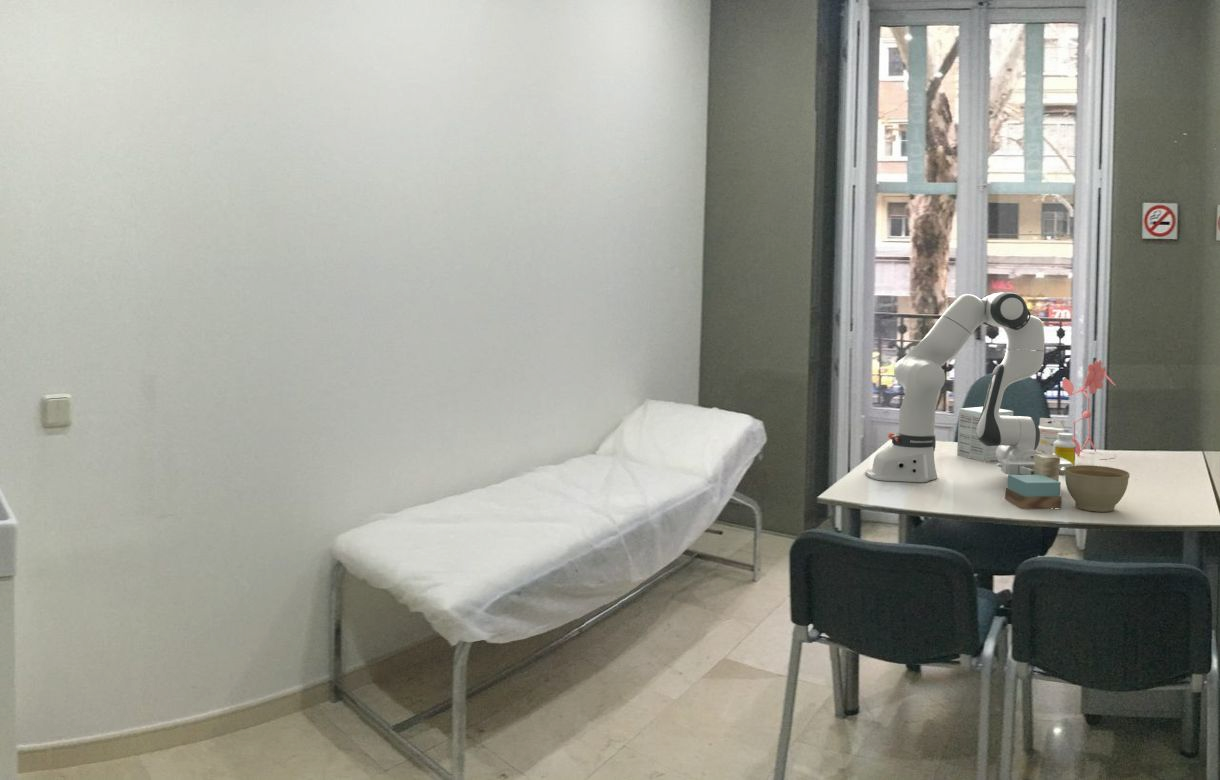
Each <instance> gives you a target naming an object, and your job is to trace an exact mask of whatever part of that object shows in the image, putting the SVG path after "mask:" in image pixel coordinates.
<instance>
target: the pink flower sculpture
mask: <svg viewBox="0 0 1220 780" xmlns="http://www.w3.org/2000/svg"><path fill="white" fill-rule="evenodd" d="M1102 364H1103V363H1102V360H1101V359H1100V360H1099V359H1098V360H1095V361H1094V363H1090V364H1088V366H1087V371H1088V373H1087V374H1086V379H1085V381H1084V384H1083V387H1082V388H1081V389H1079V390H1077V391H1075V392H1074V385H1073V382H1072V381H1071V380H1069V379H1068V378H1066V377H1064V378H1063V380H1062V381H1061V382H1062V383H1061V386H1062V389H1063V390H1064V391H1065V392H1066V393H1067V394H1068V395H1069V396H1073V395H1074V394H1078V393H1080V392H1082V393H1083V394H1084V395H1085V397H1086V398H1087V410H1085V411H1083V413H1082V416H1083V417H1081V418H1079V419H1077V420H1075V421H1074V422H1073V439H1072V441H1073V442H1074V443H1075V444H1076V448H1075V456H1077V457H1080V455H1081V452H1082V451H1083V450H1084V449H1085V447H1086V445H1087V444H1088V442H1089V444H1090V445H1091V447H1092V449H1093V451H1094V452H1095V453H1098V451H1097V450H1096V447H1095V446H1094V444H1093V442H1092V440H1091V417H1092V413H1091V411H1090V397H1089V395H1088V394H1090V395H1091V394H1094V395H1095V394H1097V392H1098V389H1099V390H1101V389H1103V388H1104V383H1103V381H1104V379H1105V378H1106V379H1107V381H1108V382H1110V383H1111V384H1112V385H1113V386H1114V387H1117V385H1116V384H1115V383H1114V382H1113V380H1112V378H1110V377H1109V376H1108V375H1107V374H1106V370H1107V369H1106V366H1103V365H1102ZM1086 388H1088V389H1086ZM1086 392H1089V393H1088V394H1087V393H1086ZM1083 419H1088V436H1086V441H1085V443H1084V444H1083V446H1082V447H1081V445H1080V443H1079V442H1078V440H1077V439H1076V423H1077V422H1079V421H1080V420H1083ZM1096 451H1097V452H1096ZM1113 455H1115V456H1116V454H1115V453H1113ZM1113 459H1114V457H1113V458H1110V460H1113ZM1101 460H1102V461H1103V460H1106V458H1104V459H1101V458H1099V461H1101Z"/></svg>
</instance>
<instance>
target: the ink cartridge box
mask: <svg viewBox="0 0 1220 780" xmlns="http://www.w3.org/2000/svg"><path fill="white" fill-rule="evenodd" d="M1049 422H1054V423H1049ZM1038 427H1039V429H1040V440H1039V444H1038V446H1037V448H1036V451H1039V452H1046V453H1053V445H1054V442H1055V441H1056V440H1058V438H1057V434H1058V433H1065V420H1064V419H1061V418H1059V419H1058V418H1047V417H1040V418H1039V423H1038Z"/></svg>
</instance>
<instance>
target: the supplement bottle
mask: <svg viewBox="0 0 1220 780" xmlns="http://www.w3.org/2000/svg"><path fill="white" fill-rule="evenodd" d="M1057 438H1058V440H1056V441H1055V442H1054V445H1053V453H1054V454H1057V457H1060V458H1063V459H1066V460H1068V461H1070V462H1071V463H1072V464H1073V466H1075V462H1076V453H1075V448H1076V444H1075V443H1074V442H1073V441H1072V439H1074V433H1070V432H1064V433H1058V434H1057Z"/></svg>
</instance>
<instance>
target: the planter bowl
mask: <svg viewBox="0 0 1220 780" xmlns="http://www.w3.org/2000/svg"><path fill="white" fill-rule="evenodd" d="M1064 471H1065V476H1064V479H1065V485H1066V488H1067V491H1068V493H1069V495H1070V497H1071V498H1072V500H1073V501H1074V502H1075V507H1076V508H1078V509H1080V510H1084V511H1089V512H1097V513H1099V512H1101V513H1102V512H1103V513H1104V512H1105V513H1107V512H1108V513H1109V512H1113V511H1115V508H1116V505H1117V504H1118V503H1119V502H1120V501H1121V500H1122V499H1123V497H1124V496H1125V493H1126V490H1127V488H1128V484H1129V479H1130V476H1131V475H1130V472H1129V471H1127V470H1125V469H1120V468H1116V467H1111V466H1103V465H1102V466H1101V465H1092V464H1091V465H1089V464H1088V465H1087V464H1081V465H1080V464H1076V465H1074V466H1068V467H1066V468H1065V469H1064Z"/></svg>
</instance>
